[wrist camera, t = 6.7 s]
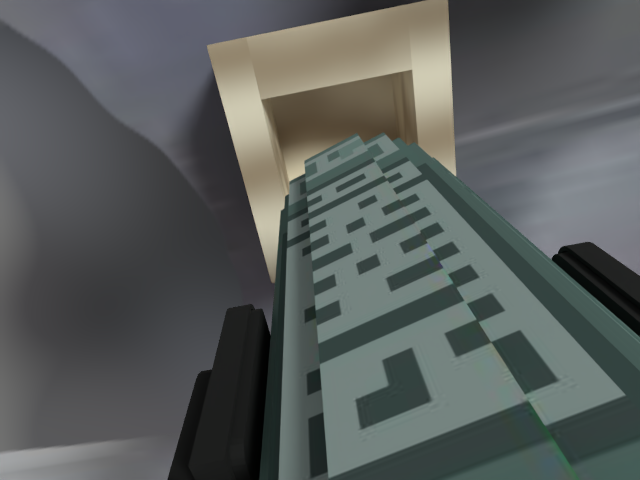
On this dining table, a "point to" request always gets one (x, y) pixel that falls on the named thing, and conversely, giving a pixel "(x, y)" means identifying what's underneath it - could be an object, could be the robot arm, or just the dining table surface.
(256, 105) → the well block
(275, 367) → the can
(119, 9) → the dining table surface
